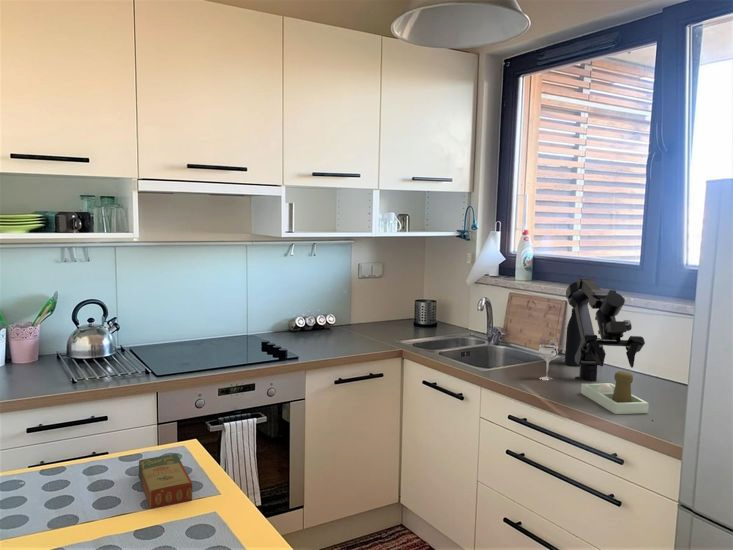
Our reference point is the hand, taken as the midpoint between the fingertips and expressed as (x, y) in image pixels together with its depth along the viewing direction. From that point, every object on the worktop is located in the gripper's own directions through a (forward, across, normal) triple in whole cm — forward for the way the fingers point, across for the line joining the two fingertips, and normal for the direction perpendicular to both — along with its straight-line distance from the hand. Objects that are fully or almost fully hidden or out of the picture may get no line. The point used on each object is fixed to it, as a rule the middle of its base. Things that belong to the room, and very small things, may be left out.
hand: (617, 366), depth 185 cm
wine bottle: (-25, +2, +44) cm, 50 cm away
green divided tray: (+9, -1, +8) cm, 12 cm away
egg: (+6, -2, +10) cm, 12 cm away
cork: (+12, 0, +4) cm, 13 cm away
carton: (+57, -117, -40) cm, 136 cm away
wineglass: (-10, -14, +27) cm, 32 cm away
